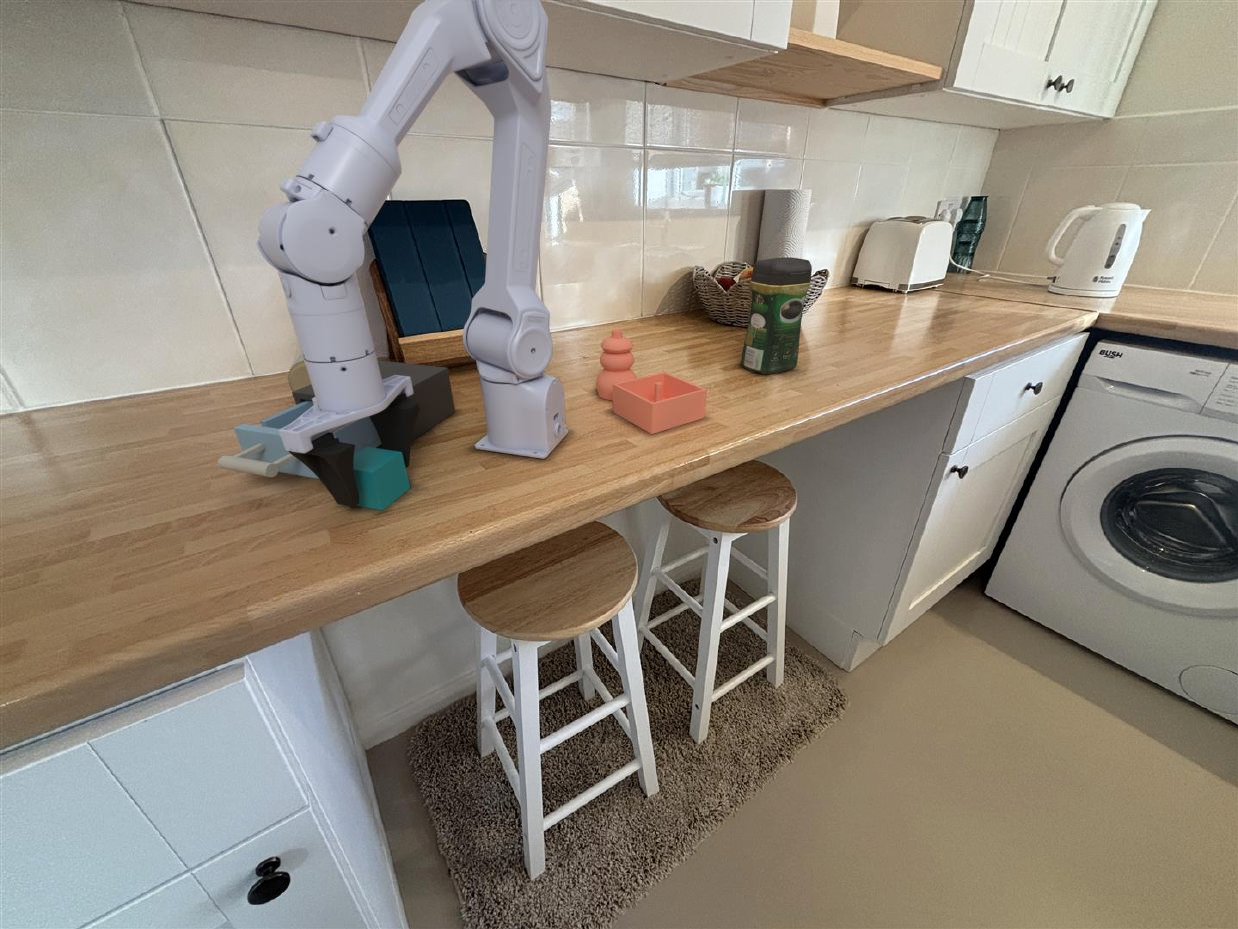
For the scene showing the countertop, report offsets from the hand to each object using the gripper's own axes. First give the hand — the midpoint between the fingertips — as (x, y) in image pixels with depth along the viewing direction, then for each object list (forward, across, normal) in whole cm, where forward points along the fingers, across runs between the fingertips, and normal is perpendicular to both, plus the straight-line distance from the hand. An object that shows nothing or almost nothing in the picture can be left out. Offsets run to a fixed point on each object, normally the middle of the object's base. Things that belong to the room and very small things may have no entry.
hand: (375, 483), depth 50 cm
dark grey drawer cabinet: (+2, -15, -11) cm, 19 cm away
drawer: (+1, -4, -11) cm, 12 cm away
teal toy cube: (+2, 0, 0) cm, 2 cm away
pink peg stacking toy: (+2, -32, +20) cm, 38 cm away
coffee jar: (+2, -56, +38) cm, 68 cm away
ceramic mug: (+2, -22, -25) cm, 33 cm away
